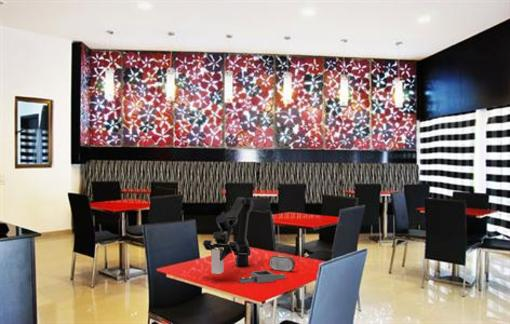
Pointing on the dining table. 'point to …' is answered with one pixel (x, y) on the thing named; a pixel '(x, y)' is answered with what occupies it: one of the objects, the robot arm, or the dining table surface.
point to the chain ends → (262, 277)
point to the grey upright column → (217, 260)
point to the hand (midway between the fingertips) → (216, 260)
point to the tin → (282, 263)
